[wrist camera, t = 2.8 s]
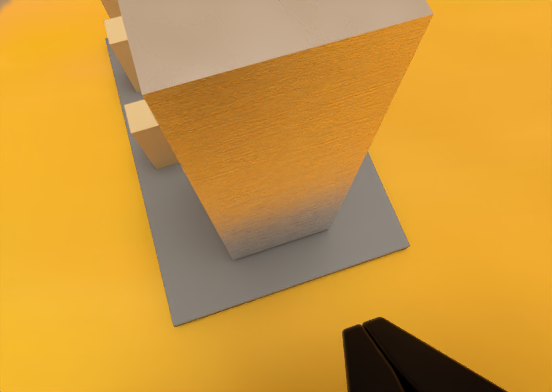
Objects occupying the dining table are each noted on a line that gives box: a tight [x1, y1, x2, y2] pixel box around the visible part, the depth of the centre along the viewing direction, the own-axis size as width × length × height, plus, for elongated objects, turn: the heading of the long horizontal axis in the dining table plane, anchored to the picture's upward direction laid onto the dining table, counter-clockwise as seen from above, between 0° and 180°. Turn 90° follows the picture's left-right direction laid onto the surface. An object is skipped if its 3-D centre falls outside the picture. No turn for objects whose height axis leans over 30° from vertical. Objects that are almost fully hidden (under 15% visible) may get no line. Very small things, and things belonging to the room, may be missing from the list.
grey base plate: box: [101, 0, 410, 326], centre depth 21 cm, size 17×12×4 cm
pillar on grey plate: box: [118, 0, 433, 260], centre depth 14 cm, size 5×5×14 cm
